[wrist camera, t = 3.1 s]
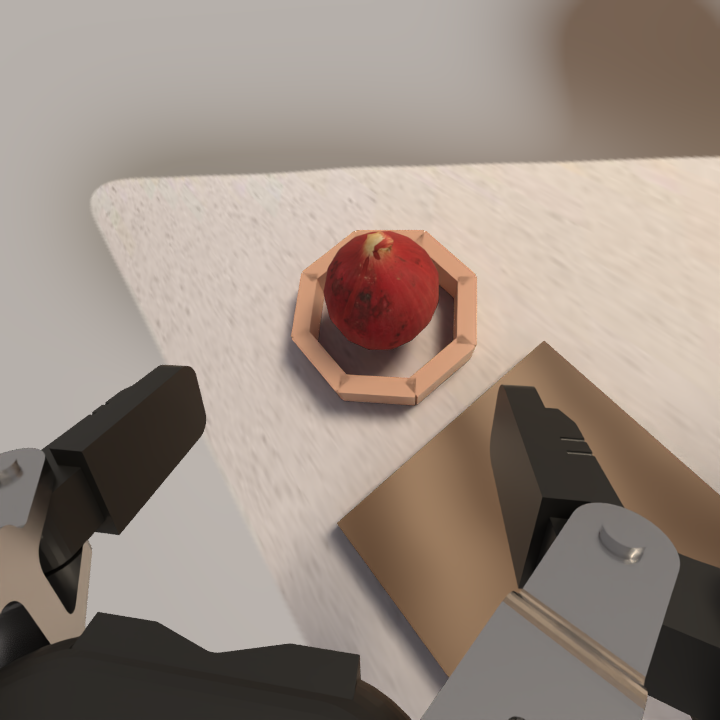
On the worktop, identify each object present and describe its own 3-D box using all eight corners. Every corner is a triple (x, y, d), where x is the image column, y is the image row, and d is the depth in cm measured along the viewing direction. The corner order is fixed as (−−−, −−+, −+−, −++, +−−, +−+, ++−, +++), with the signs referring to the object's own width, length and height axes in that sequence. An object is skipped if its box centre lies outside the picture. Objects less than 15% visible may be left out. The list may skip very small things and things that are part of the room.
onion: (410, 382, 22) (410, 327, 14) (322, 345, 23) (279, 277, 16) (449, 297, 23) (468, 205, 16) (363, 267, 24) (342, 169, 17)
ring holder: (393, 222, 25) (392, 201, 23) (508, 325, 22) (517, 310, 20) (273, 317, 24) (262, 303, 22) (376, 440, 21) (372, 435, 19)
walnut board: (535, 350, 21) (544, 340, 20) (738, 533, 18) (767, 537, 16) (342, 520, 20) (336, 523, 18) (518, 761, 16) (529, 788, 15)
